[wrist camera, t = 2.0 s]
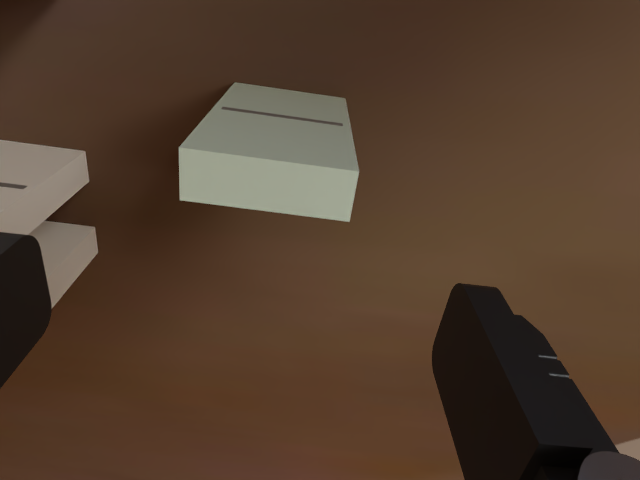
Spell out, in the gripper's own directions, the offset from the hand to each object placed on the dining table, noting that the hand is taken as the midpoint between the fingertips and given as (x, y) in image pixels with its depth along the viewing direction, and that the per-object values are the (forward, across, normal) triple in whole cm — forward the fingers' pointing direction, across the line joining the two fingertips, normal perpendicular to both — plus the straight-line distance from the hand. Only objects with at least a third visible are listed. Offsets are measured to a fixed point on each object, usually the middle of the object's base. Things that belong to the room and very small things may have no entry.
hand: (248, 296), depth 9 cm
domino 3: (+14, 0, 0) cm, 14 cm away
